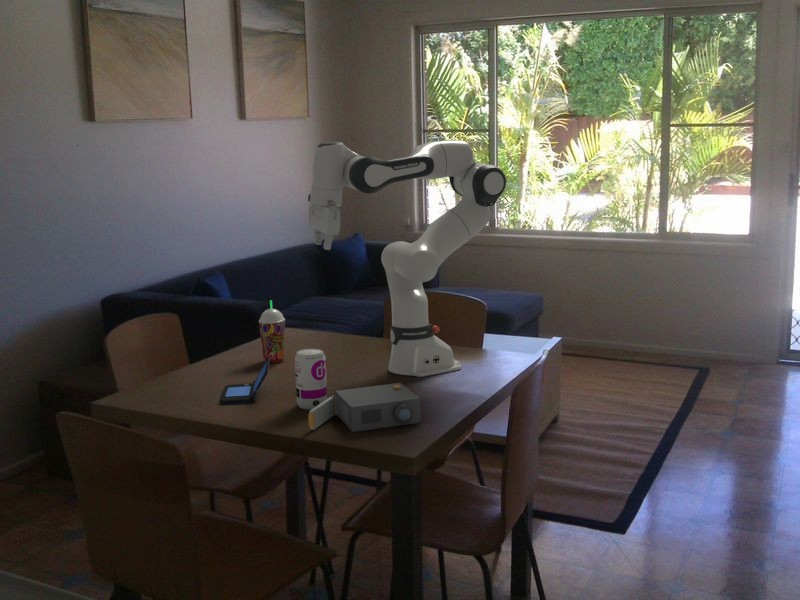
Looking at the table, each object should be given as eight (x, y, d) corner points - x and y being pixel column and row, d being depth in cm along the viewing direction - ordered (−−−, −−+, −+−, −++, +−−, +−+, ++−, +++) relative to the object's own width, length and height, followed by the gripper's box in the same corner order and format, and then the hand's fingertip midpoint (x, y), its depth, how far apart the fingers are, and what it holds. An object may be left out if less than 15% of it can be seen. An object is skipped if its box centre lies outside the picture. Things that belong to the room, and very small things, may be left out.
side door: (335, 414, 234) (335, 395, 233) (313, 431, 222) (312, 411, 221) (331, 414, 235) (331, 395, 234) (309, 431, 222) (308, 410, 221)
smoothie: (276, 365, 285) (272, 303, 281) (255, 362, 289) (252, 301, 285) (292, 359, 292) (289, 299, 288) (272, 356, 296) (269, 297, 292)
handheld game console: (225, 389, 261) (223, 358, 259) (271, 387, 262) (270, 356, 260) (220, 405, 246) (218, 373, 244) (269, 403, 247) (267, 370, 245)
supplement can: (333, 404, 243) (331, 351, 240) (311, 412, 237) (308, 357, 234) (313, 399, 249) (310, 346, 246) (290, 406, 243) (288, 352, 240)
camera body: (401, 405, 241) (400, 380, 239) (424, 425, 225) (423, 398, 223) (335, 414, 235) (334, 388, 234) (354, 435, 219) (353, 407, 217)
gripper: (347, 203, 247) (343, 253, 250) (327, 196, 266) (323, 242, 268) (325, 202, 245) (321, 252, 247) (306, 194, 264) (303, 241, 266)
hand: (322, 246), depth 258 cm, fingers open, 8 cm apart
